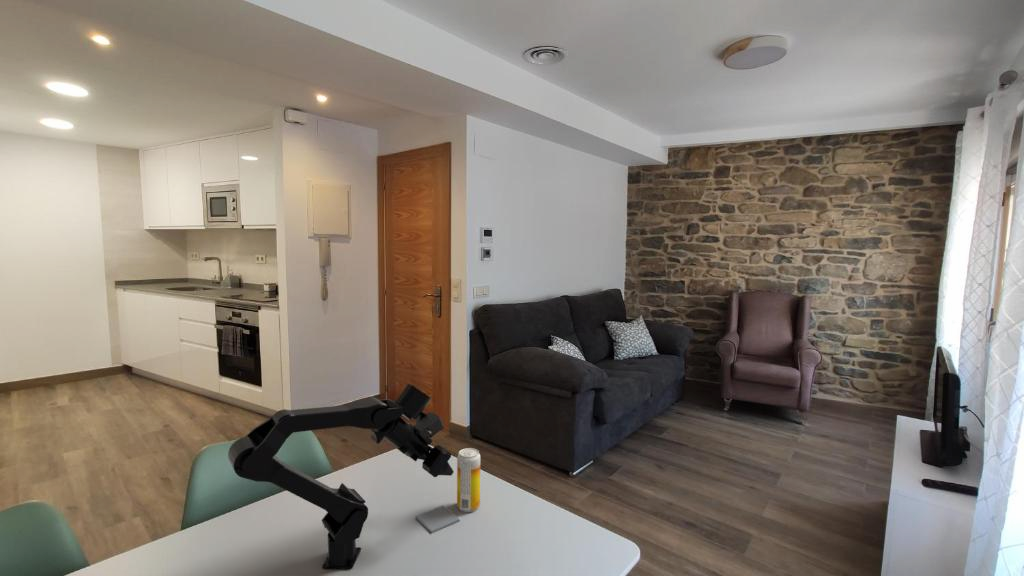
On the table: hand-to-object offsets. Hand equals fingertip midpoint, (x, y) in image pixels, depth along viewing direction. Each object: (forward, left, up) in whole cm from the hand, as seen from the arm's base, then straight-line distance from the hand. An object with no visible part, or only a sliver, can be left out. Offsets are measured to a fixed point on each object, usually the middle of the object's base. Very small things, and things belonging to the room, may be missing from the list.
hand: (442, 466), depth 117 cm
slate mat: (-1, +1, -13) cm, 14 cm away
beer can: (+5, -6, -14) cm, 16 cm away
